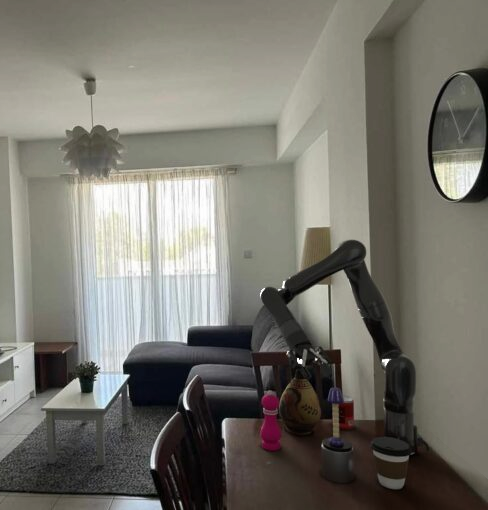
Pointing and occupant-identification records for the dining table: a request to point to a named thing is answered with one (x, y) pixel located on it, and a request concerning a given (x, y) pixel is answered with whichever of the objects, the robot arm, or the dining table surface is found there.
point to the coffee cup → (391, 461)
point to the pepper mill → (270, 423)
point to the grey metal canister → (337, 462)
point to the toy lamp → (335, 415)
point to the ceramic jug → (299, 404)
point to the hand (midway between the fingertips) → (319, 377)
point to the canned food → (346, 413)
